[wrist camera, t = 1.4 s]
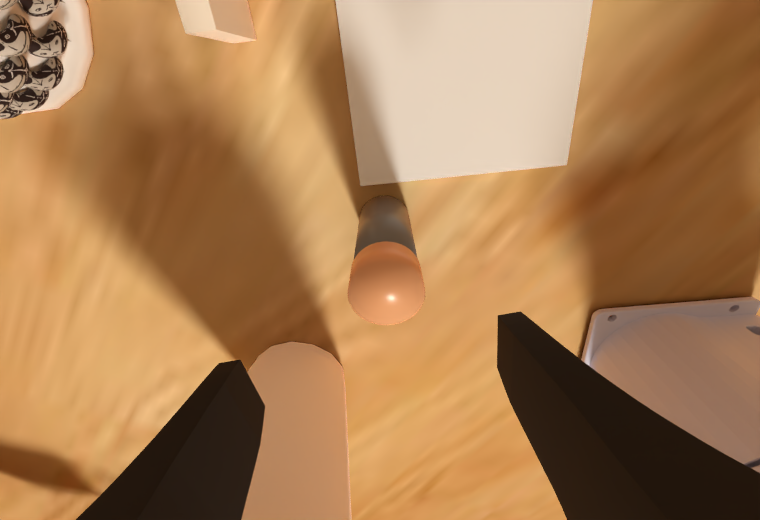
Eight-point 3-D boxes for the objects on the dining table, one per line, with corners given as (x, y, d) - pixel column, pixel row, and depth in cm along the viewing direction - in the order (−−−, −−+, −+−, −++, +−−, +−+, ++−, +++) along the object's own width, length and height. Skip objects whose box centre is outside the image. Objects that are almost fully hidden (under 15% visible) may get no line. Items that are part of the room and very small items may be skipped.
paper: (596, -51, 13) (601, -54, 13) (564, 163, 17) (566, 165, 16) (333, -17, 13) (332, -18, 13) (360, 184, 17) (360, 186, 17)
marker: (408, 191, 17) (423, 257, 11) (411, 240, 19) (426, 321, 12) (355, 197, 17) (342, 264, 11) (362, 244, 19) (353, 327, 13)
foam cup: (247, 303, 21) (85, 587, 9) (387, 347, 22) (395, 633, 11) (220, 401, 25) (85, 678, 14) (339, 432, 27) (309, 701, 15)
